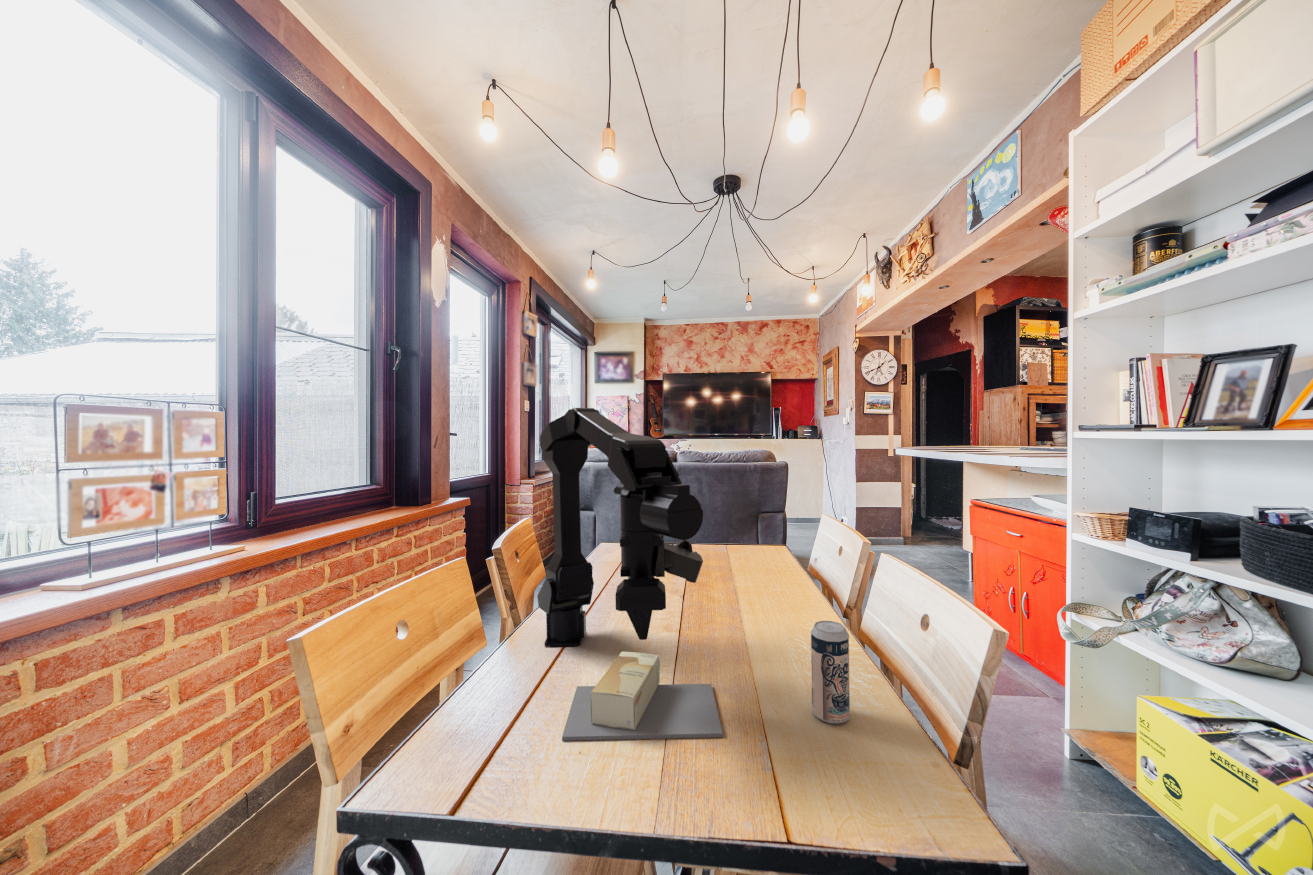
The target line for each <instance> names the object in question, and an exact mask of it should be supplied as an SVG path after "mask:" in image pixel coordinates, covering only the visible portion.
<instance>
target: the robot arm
mask: <svg viewBox="0 0 1313 875" xmlns="http://www.w3.org/2000/svg"><path fill="white" fill-rule="evenodd" d="M539 446H540V450H541V451H542V460H543V462H544V463H545V465H546V466H547V468H548V469H549V471H550V472H551V474H552V498H553V499H552V501H553V502H552V503H553V507H552V508H553V537H554V539H553V540H554V542H553V543H554V552H553V554H552V557H551V558H550V560H549V562H548V564H547V566H546V568H545V579H544V581H543V584H542V585H541V588H540V590H539V591H538V593H537V603H538V604H537V605H538V608H539V609H541V610H542V611H543V612H544V613H546V614H545V615H546V616H545V619H546V639H545V640H544V643H543V645H544V647H557V646H558V647H561V646H562V647H568V646H572V647H573V646H580V645H581V644H582V641H583V639H584V638H585V637H586V633H587V612H586V610H583V606H587V605H591V601H592V597H593V590H594V584H595V582H594V579H593V565H592V563H591V562H589V561H588V560H587V559H586V557H585V556H584V554H583V553H582V552H583V551H582V532H581V531H582V530H581V521H582V520H581V493H580V492H581V489H580V473H581V471H582V469H583V467H584V466H585V465H586V464H585V463H586V462H587V460H588V457H589V456H588V455H589V448H590V447H591V446H593V447H595V448H596V449H598V450H599V452H601V453H602V454H604V455H605V456H606V457H607V467H608V468H609V469H610V471H611V472H612V473H613V474H614V476H615V477H616V478H617V479H618V480H619V484H617V485H616V486H615V487H614V488H613V494H615V495H620V496H619V498H620V499H619V501H620V502H619V505H620V506H619V507H620V509H619V511H620V538H619V548H620V550H621V551H620V553H621V554H620V557H621V563H620V564H621V565H620V577H621V578H624V577H626V578H624V579H623V580H622V581H621V582H620V583H619V584H618V585H617V587H616V589H615V590H616V591H615V595H614V596H615V611H619V612H626V613H627V617H629V620H630V623H631V624H632V626H633V629H634V631H635V633H636V636H637V638H638V639H639V640H641V641H643V640H645V641H646V640H647V639H648V636H649V630H650V626H651V620H652V613H653V611H663V610H666V609H667V597H666V595H667V594H666V585H665V584H664V582H663V581H661V580H660V578H666V575H665V574H666V573H668V574H671V575H672V576H676V577H679V578H682V579H685V580H686V581H687V582H689V583H694V584H695V583H697V581H698V578H699V574H700V571H701V569H702V566H703V564H704V560H703V558H702V556H701V554H699V552H697V551H693V545H692V542H691V541H690V540H689V539H692V538H693V537H695V536H696V534H698V533H699V531H700V528H701V527H702V524H703V522H704V521H703V520H704V510H703V509H702V506H701V503H700V501H699V500H698V499H697V498H696V497H695V496H694V495H692V494H691V486H690V484H687V483H686V484H685V483H684V484H683V483H682V480H681V478H680V474H679V472H678V471H677V469H676V468H675V465H674V463H673V460H672V459H671V457H670V454H669V452H668V450H667V446H666V445H665V443H664V442H663V441H662V440H660V439H658V438H655V437H651V436H648V435H641V434H635V433H632V432H628V431H627V430H626V429H625V428H622V427H621V426H620V425H618V424H616V423H615V422H613V421H612V420H610V419H609V418H607V417H605V416H604V415H602V414H601V413H600V411H599V409H595V408H594V407H593V408H592V407H573V408H569V409H568V410H567V411H566V413H565V414H563V416H561V417H559V418H556V419H554V420H552V421H550V422H549V423H548V424H546V426H545V428H544V429H543V430H542V432H541V433H540V437H539ZM664 536H665V537H667V538H668V537H669V538H672V539H676V540H678V541H677V543H676V544H674V543H667V542H665V539H664Z"/></svg>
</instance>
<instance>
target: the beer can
mask: <svg viewBox="0 0 1313 875" xmlns="http://www.w3.org/2000/svg"><path fill="white" fill-rule="evenodd" d="M849 639H850V634H849V632H848V630H847V628H846V626H844V625H843V624H842V623H840V622H836V621H832V620H821V621H815V622H814V626H813V628H812V629H811V630H810V641H811V642H810V647H811V648H810V650H811V652H810V655H811V656H810V657H811V661H810V662H811V705H812V706H811V710H812V713H813V715H815V717H817V718H818V719H819V720H821V721H822V722H824V723H827V724H831V725H840V724H842V723H845V722H847V721H848V720H850V718H851V714H850V712H851V710H850V702H851V701H850V652H849V651H850V640H849Z"/></svg>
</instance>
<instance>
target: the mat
mask: <svg viewBox="0 0 1313 875" xmlns="http://www.w3.org/2000/svg"><path fill="white" fill-rule="evenodd" d="M595 686H596V685H585V686H584V685H580V686H576V688H575V691H574V692H575V693H574V696H573V698H572V703H571V704H570V708H569V713H568V716H567V719H566V722H565V726H564V729H563V733H562V736H561V740H562V741H563V742H567V741H568V742H569V741H570V742H571V741H572V742H573V741H575V742H576V741H611V740H619V741H620V740H652V739H653V740H656V739H658V740H659V739H660V740H661V739H662V740H663V739H701V738H703V739H706V738H710V739H711V738H724V737H723V736H724V733H723V728H722V723H721V721H720V720H721V719H720V716H719V711H718V707H717V702H716V698H715V694H714V690H713V686H712V683H681V684H680V683H679V684H677V683H675V684H674V683H673V684H670V683H669V684H668V683H667V684H659V685H658V687H657V688H656V690H655V692H654V694H653V696H652V698H651V700H650V702H649V704H648V706H647V708H646V710H645V712H644V713H643V715H642V717H641V719H640V721H639V723H638V725H637V727H636V729H635V730H629V729H623V728H614V727H609V726H602V725H596V724H592V723H591V722H590V703H591V691H592V690H593V689H594V688H595Z"/></svg>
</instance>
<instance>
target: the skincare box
mask: <svg viewBox="0 0 1313 875" xmlns="http://www.w3.org/2000/svg"><path fill="white" fill-rule="evenodd" d="M660 668H661V664H660V656H659V654H658V655H657V654H651V653H643V652H636V651H635V652H634V651H621V652H620V653H619V654H618V656H617V657H616V659H615V660H614V661H613V662H612V664H611V665H610V666H609V668H608V669H607V671H606V672H605V673H604V675H602V677H601V678H600V680H598V682H597V684H596V685H594V686H595V688H594V689H593V690H592V691H591V703H590V722H591V723H592V724H596V725H602V726H609V727H614V728H623V729H629V730H635V729H636V727H637V725H638V723H639V721H640V719H641V717H642V715H643V713H644V712H645V710H646V708H647V706H648V704H649V702H650V700H651V698H652V696H653V694H654V692H655V690H656V688H657V687H658V685H660V680H661V678H660V677H661V676H660V674H661V672H660V671H661V670H660Z"/></svg>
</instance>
